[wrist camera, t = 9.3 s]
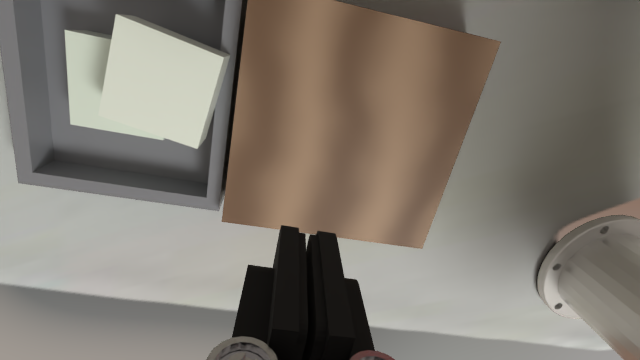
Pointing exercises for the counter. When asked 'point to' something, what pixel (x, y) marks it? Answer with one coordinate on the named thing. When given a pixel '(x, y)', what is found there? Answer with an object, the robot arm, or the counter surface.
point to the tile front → (161, 81)
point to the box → (106, 146)
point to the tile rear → (91, 81)
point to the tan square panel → (349, 119)
